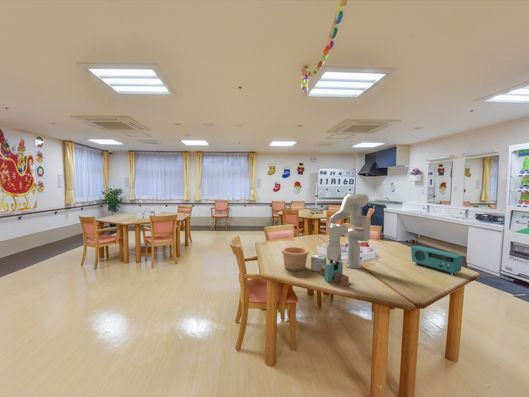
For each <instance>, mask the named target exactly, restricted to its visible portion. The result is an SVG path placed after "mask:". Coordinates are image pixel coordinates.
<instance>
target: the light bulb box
mask: <svg viewBox="0 0 529 397" xmlns="http://www.w3.org/2000/svg"><path fill="white" fill-rule="evenodd" d="M325 264H327V256H324V255H316V254H312V255H311V256H310V270H311V271H316V272H320V267H322V266H324V267H325Z"/></svg>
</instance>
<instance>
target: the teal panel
mask: <svg viewBox="0 0 529 397" xmlns="http://www.w3.org/2000/svg"><path fill="white" fill-rule="evenodd" d="M334 264H335V261H333V263H330V262H329V263H326V264H325V277H324V282H326V283H331V282H332V283H333V282H334V281H333V276H335V273H336V272H339V273H341V274H343V267H344V266H343V261H342V262H341V263H339V264H338V270H334Z"/></svg>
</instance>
